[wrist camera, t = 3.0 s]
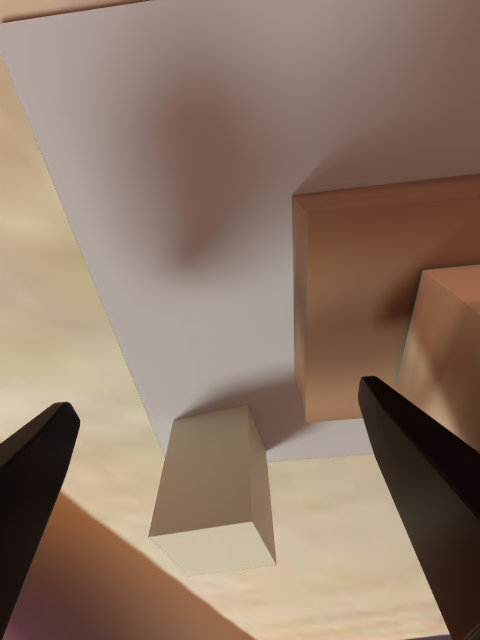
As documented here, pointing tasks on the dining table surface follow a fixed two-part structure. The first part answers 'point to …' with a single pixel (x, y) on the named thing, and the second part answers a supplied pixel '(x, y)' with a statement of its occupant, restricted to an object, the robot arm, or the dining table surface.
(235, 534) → the beige rectangular block
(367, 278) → the plinth
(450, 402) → the maple block
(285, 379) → the mat
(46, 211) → the dining table surface
